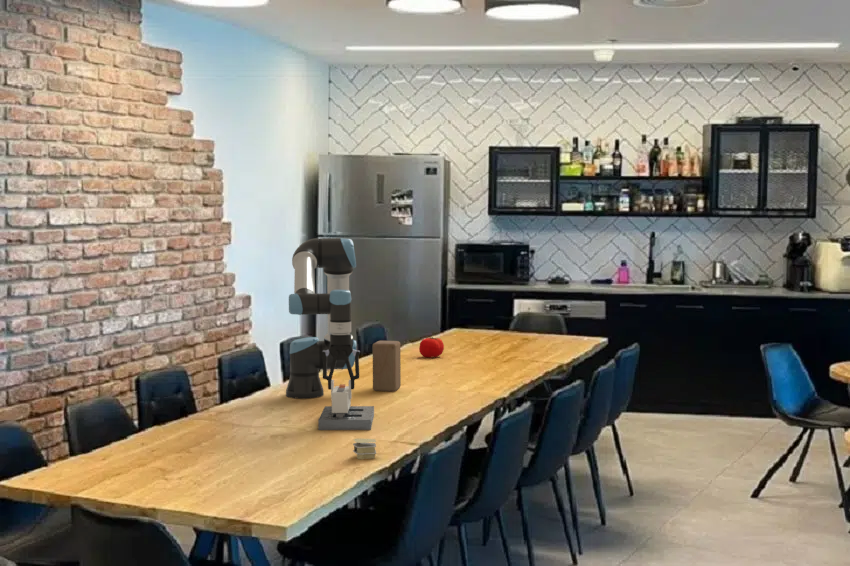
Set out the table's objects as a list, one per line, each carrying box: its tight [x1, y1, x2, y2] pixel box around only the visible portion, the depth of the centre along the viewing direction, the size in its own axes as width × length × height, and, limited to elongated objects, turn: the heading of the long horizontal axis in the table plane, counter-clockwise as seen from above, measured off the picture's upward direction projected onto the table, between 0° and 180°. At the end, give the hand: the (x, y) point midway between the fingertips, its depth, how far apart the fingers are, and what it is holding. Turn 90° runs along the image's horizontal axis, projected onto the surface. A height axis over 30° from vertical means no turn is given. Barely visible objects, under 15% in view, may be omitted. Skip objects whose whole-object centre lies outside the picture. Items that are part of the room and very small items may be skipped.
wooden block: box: [372, 340, 402, 392], centre depth 435 cm, size 10×10×20 cm
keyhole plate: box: [317, 405, 375, 431], centre depth 370 cm, size 18×24×4 cm
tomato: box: [418, 337, 445, 358], centre depth 525 cm, size 11×13×10 cm
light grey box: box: [331, 383, 352, 417], centre depth 370 cm, size 6×14×11 cm, turn 0°
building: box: [352, 438, 377, 460], centre depth 320 cm, size 10×9×6 cm
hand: (341, 398), depth 370 cm, fingers closed on light grey box, 5 cm apart
